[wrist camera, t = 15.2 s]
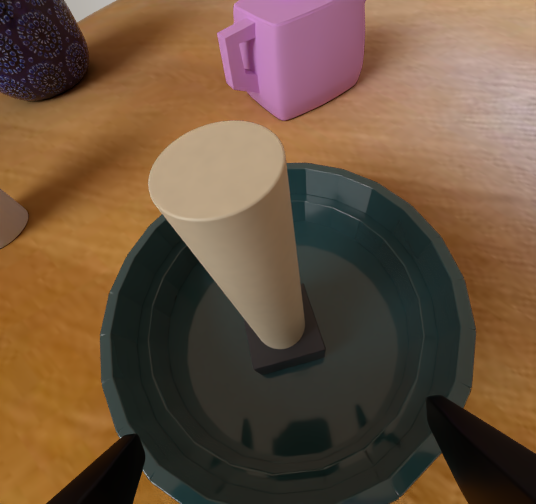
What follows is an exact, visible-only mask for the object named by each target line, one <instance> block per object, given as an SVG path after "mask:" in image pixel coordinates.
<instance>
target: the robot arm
mask: <svg viewBox="0 0 536 504" xmlns="http://www.w3.org/2000/svg"><path fill="white" fill-rule="evenodd" d="M426 409H427V421H428V424H429V427H430V429H431V431H432V433H433V435H434V437H435V439H436V441H437V443H438V446H439V448H440V450H441V452H442V454H443V456H444V458H445V460H446V462H447V464H448V466H449V468H450V470H451V472H452V474H453V476H454V478H455V480H456V482H457V484H458V486H459V488H460V490H461V491H462V493H463V495H464V497H465V498H466V500H467V502H468V503H469V504H536V454H535V453H534V452H532V451H531V450H529V449H527V448H526V447H524V446H523V445H521V444H519V443H518V442H516V441H515V440H513V439H511V438H510V437H508V436H507V435H505V434H503V433H502V432H500V431H499V430H497V429H495V428H494V427H492V426H491V425H489V424H487V423H486V422H484V421H483V420H481V419H479V418H478V417H476V416H475V415H473V414H471V413H470V412H468V411H467V410H465V409H463V408H462V407H460V406H459V405H457V404H455V403H454V402H452V401H451V400H449V399H447V398H446V397H444V396H442V395H434V396H428V397H427V398H426ZM144 463H145V451H144V448H143V445H142V443H141V440H140V437H139V435H138V434H127V435H124V436H122V437H121V438H120V439H119V440H118V441H117V442H115V443H114V444H113V445H112V446H111V447H110V448H109V449H108V450H106V451H105V452H104V453H103V454H102V455H101V456H100V457H99V458H97V459H96V460H95V461H94V462H93V463H92V464H91V465H89V466H88V467H87V468H86V469H85V470H84V471H83V472H82V473H80V474H79V475H78V476H77V477H76V478H75V479H74V480H72V481H71V482H70V483H69V484H68V485H67V486H66V487H65V488H63V489H62V490H61V491H60V492H59V493H58V494H57V495H55V496H54V497H53V498H52V499H51V500H50V501H49V502H48V503H46V504H133V501H134V497H135V494H136V490H137V487H138V484H139V480H140V477H141V474H142V470H143V467H144Z"/></svg>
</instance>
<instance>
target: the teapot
mask: <svg viewBox="0 0 536 504" xmlns="http://www.w3.org/2000/svg"><path fill="white" fill-rule="evenodd" d="M365 1H366V0H239V1H238V2H236V3H235V4H234V6H233V7H234V24H233V25H231V26H229V27H227V28H225V29H224V30H222V31H220V32H218V33H217V36H218V41H219V46H220V51H221V56H222V62H223V67H224V72H225V77H226V82H227V84H228V85H229V86H231V87H232V88H233V89H234V90H241V91H247V92H248V94H249V95H250V96H251V97H252V98H253V99H254V100H256V101H257V102H258V103H259V104H260V105H261V106H262V107H264V108H265V109H266V110H268V111H269V112H270V113H271V114H273V115H274V116H276V117H277V118H278V119H280V120H288V119H291V118H294V117H296V116H299V115H301V114H303V113H306V112H308V111H310V110H312V109H315V108H317V107H319V106H321V105H323V104H325V103H327V102H328V101H330V100H332V99H334V98H335V97H337V96H338V95H340V94H342V93H343V92H345V91H347V90H348V89H350V88H351V87H352V86H354V85H355V84H356V82H357V80H358V78H359V75H360V72H361V69H362V65H363V57H364V44H365V5H364V4H365Z"/></svg>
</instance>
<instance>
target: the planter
mask: <svg viewBox="0 0 536 504" xmlns="http://www.w3.org/2000/svg"><path fill="white" fill-rule="evenodd" d="M88 65H89V52H88V47H87V43H86V41H85V38H84V36H83V34H82V32H81V30H80V28H79V26H78V24H77V22H76V20H75V19H74V17H73V15H72V13H71V11H70V9H69V8H68V6H67V4H66V3H65V1H64V0H0V92H1V93H3V94H5V95H7V96H10V97H13V98H16V99H20V100H27V101H36V100H43V99H47V98H51V97H54V96H56V95H59V94H61V93H63V92H65V91H67V90H68V89H70V88H72V87H73V86H75V85H76V84H77V83H78V82H79V81H80V80H81V79H82V78H83V77H84V75H85V74H86V72H87V69H88Z"/></svg>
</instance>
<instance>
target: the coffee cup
mask: <svg viewBox="0 0 536 504" xmlns="http://www.w3.org/2000/svg"><path fill="white" fill-rule="evenodd" d="M27 221H28V212H27V210H26V209H25V208H24V207H22V206H21V205H20V204H19V203H18V202H16V201H15V200H14V199H13V198H11V197H10V196H9V195H7V194H6V193H5V192H4V191H2V190H1V189H0V248H2V247H4V246H5V245H7V244H9V243H10V242H11V241H13V240H14V239H15V238H16V237H17V236H18V235H19V234H20V233H21V231H22V230H23V229H24V227H25V226H26V223H27Z"/></svg>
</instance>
